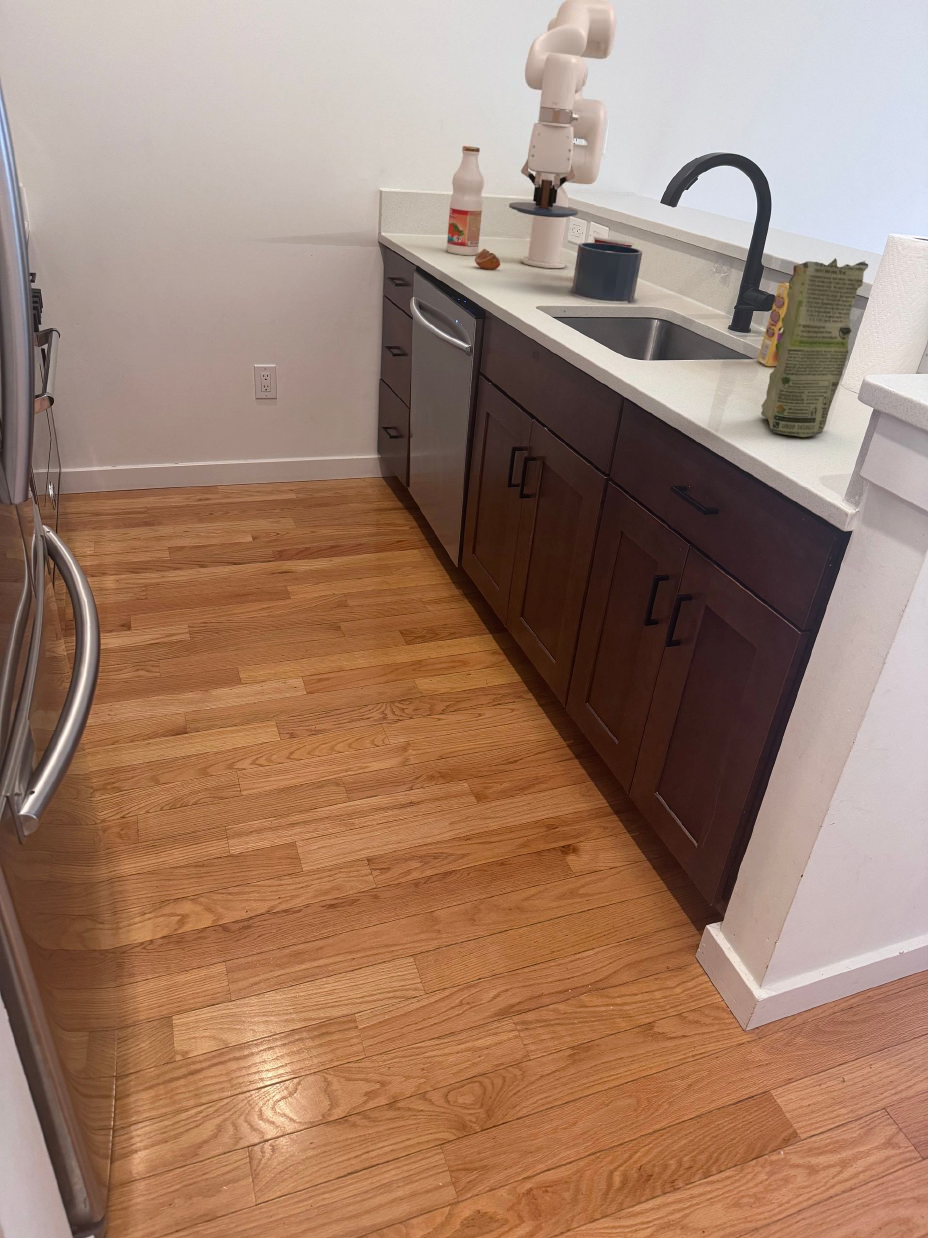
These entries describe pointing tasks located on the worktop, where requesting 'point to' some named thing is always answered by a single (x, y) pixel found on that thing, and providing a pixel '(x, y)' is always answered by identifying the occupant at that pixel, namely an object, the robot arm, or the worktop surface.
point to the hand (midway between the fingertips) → (543, 205)
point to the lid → (544, 205)
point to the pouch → (812, 346)
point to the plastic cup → (612, 241)
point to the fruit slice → (487, 260)
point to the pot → (606, 272)
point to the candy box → (774, 327)
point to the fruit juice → (466, 205)
